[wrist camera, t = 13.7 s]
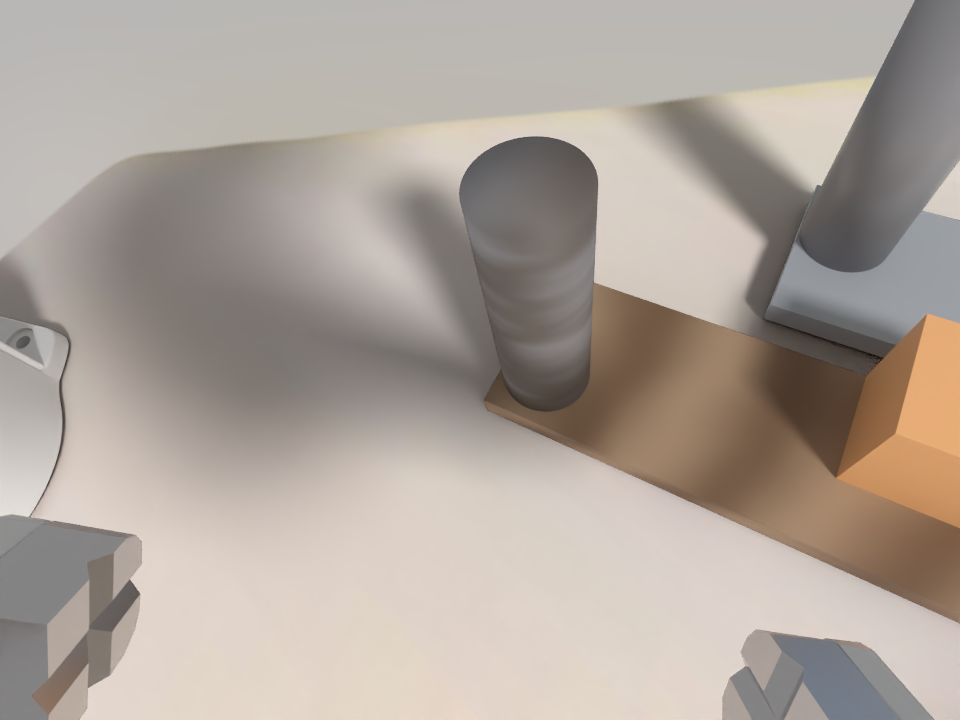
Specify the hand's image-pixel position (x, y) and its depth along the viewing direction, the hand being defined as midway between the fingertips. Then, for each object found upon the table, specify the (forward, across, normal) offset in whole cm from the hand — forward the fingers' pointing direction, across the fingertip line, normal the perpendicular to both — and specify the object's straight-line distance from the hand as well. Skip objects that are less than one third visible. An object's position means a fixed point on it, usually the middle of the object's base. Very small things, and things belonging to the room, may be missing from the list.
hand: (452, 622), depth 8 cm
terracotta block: (+14, -19, +1) cm, 24 cm away
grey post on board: (+17, -14, +2) cm, 22 cm away
